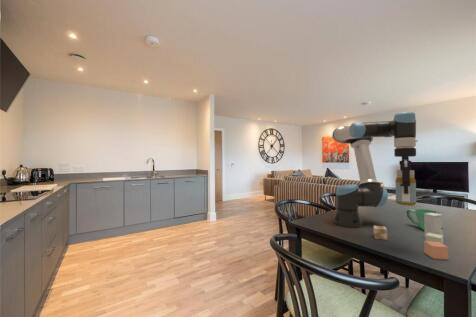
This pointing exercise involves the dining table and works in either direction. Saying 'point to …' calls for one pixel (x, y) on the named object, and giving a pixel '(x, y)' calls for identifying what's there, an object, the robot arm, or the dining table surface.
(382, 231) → the maple cube
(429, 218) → the skincare box
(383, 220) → the dining table surface
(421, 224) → the mug
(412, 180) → the bottle
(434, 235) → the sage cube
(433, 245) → the terracotta cube
